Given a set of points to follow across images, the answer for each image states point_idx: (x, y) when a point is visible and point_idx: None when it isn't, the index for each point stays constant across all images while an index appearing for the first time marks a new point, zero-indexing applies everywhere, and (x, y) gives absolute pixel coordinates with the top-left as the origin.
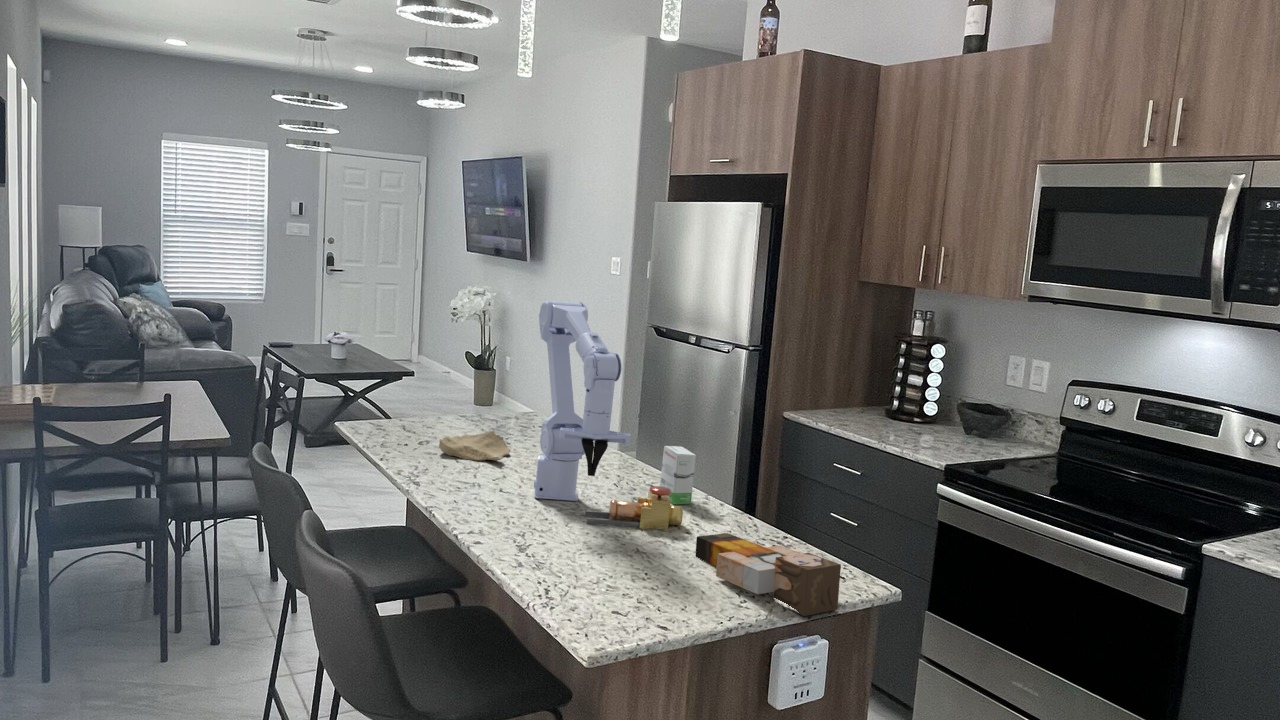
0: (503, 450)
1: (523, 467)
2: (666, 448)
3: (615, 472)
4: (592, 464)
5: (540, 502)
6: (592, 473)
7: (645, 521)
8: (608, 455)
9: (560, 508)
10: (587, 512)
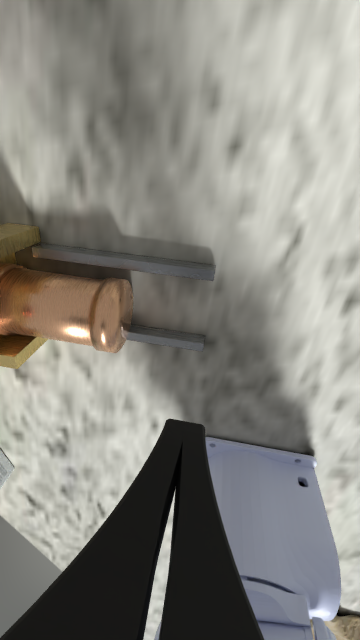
0: None
1: None
2: None
3: None
4: (169, 503)
5: (309, 433)
6: (179, 431)
7: (4, 230)
8: None
9: (264, 393)
10: (196, 341)
